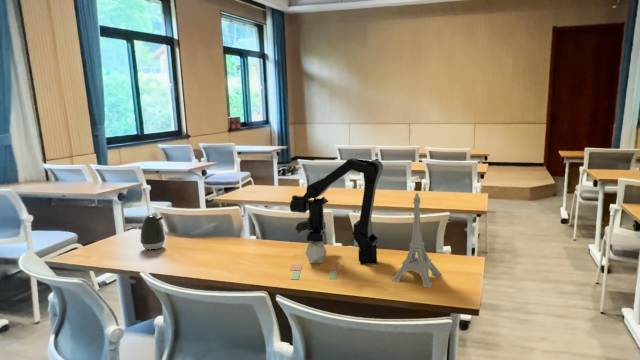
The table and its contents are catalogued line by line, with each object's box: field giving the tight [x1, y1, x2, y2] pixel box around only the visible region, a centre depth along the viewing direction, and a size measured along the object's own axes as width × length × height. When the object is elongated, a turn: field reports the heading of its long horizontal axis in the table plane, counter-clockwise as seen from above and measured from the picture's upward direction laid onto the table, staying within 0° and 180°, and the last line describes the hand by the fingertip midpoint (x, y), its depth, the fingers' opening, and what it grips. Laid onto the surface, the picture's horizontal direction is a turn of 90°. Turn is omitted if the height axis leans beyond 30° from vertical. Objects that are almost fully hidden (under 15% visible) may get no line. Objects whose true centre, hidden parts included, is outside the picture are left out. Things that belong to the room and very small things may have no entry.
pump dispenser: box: [139, 214, 166, 251], centre depth 194 cm, size 10×10×15 cm
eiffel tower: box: [391, 192, 442, 289], centre depth 150 cm, size 13×13×30 cm
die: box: [305, 241, 327, 264], centre depth 171 cm, size 8×9×10 cm
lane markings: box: [289, 263, 342, 281], centre depth 161 cm, size 19×14×1 cm
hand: (317, 251), depth 177 cm, fingers closed
